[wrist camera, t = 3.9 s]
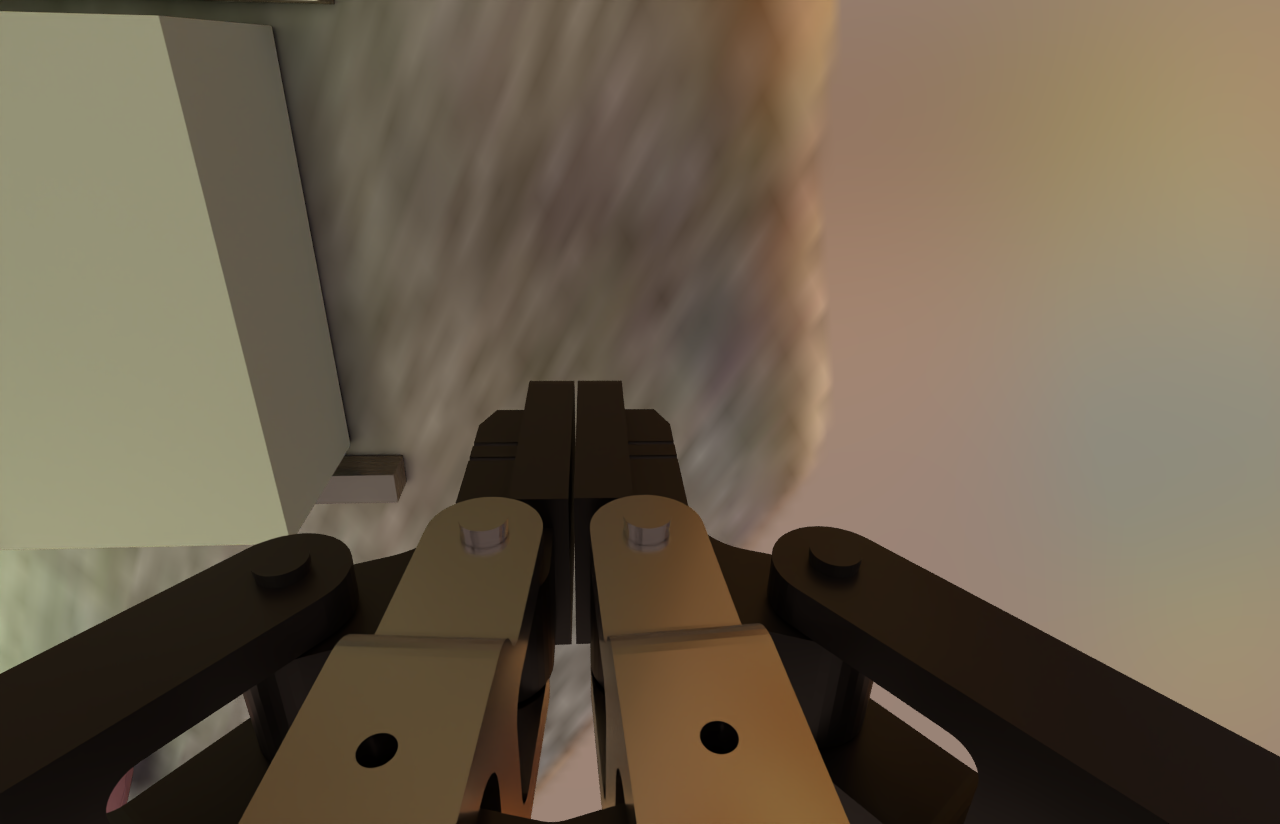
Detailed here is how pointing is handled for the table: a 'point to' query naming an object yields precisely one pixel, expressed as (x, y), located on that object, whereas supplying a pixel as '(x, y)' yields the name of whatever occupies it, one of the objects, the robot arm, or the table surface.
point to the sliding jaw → (155, 289)
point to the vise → (359, 473)
